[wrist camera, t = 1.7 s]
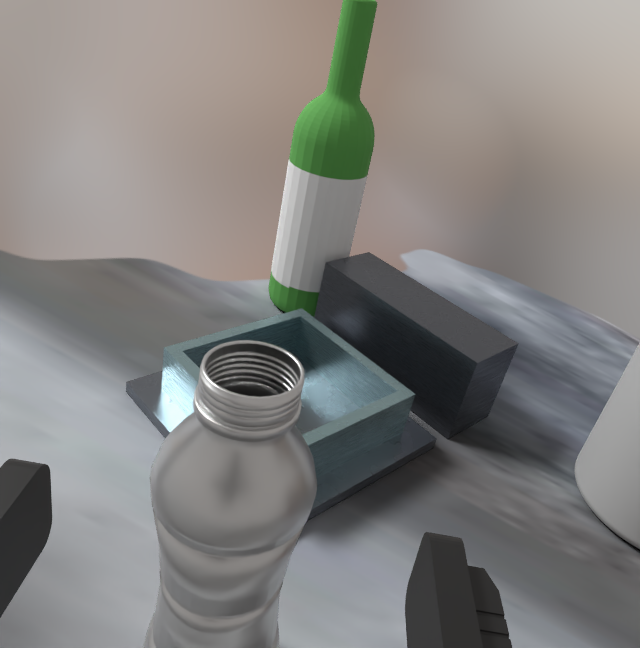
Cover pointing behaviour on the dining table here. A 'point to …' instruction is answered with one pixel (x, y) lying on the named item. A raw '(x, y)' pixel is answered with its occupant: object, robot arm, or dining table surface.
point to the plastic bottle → (231, 501)
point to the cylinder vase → (615, 459)
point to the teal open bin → (359, 372)
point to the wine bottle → (325, 170)
